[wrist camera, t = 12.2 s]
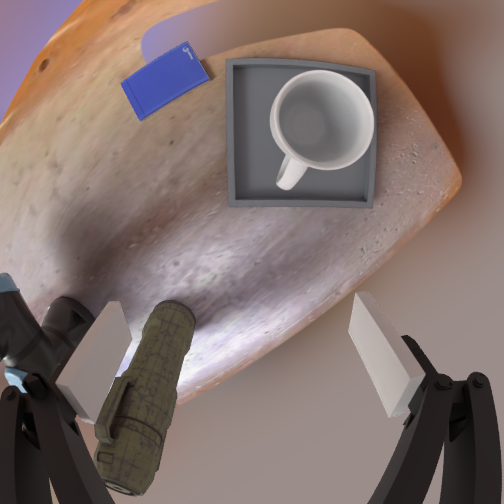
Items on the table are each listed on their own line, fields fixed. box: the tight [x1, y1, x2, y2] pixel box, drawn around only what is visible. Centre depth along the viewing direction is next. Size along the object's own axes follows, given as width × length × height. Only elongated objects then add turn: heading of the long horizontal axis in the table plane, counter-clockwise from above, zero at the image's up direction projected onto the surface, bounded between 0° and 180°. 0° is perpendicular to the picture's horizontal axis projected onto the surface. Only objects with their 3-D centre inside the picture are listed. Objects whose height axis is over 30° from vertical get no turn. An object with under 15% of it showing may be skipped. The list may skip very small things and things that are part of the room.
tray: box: [226, 58, 377, 209], centre depth 36 cm, size 22×22×3 cm
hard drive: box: [121, 41, 211, 121], centre depth 34 cm, size 2×8×12 cm
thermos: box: [93, 300, 195, 496], centre depth 34 cm, size 9×12×35 cm
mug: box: [270, 70, 374, 190], centre depth 31 cm, size 15×11×13 cm
